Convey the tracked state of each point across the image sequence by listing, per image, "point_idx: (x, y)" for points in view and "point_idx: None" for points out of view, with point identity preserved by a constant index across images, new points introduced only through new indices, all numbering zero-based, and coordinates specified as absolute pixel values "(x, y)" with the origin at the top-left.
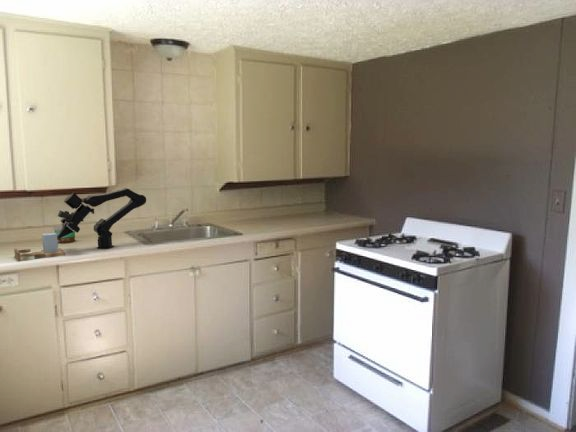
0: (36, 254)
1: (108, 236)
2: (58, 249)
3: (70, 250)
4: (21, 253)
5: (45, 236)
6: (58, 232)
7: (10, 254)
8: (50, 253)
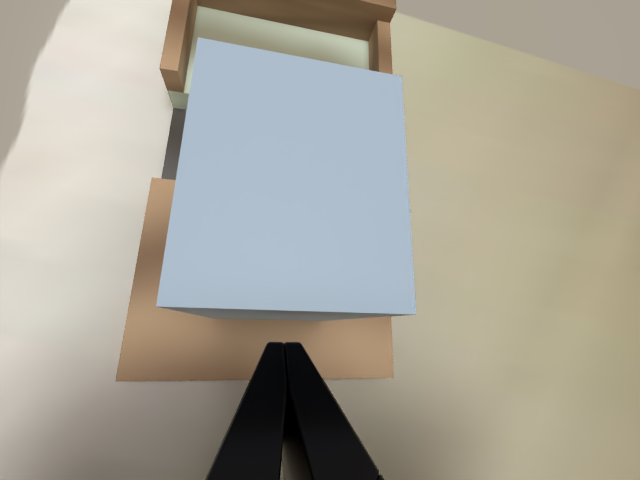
0: None
1: None
2: (325, 345)
3: None
4: (351, 60)
5: (199, 81)
6: None
7: (459, 58)
8: (166, 226)
